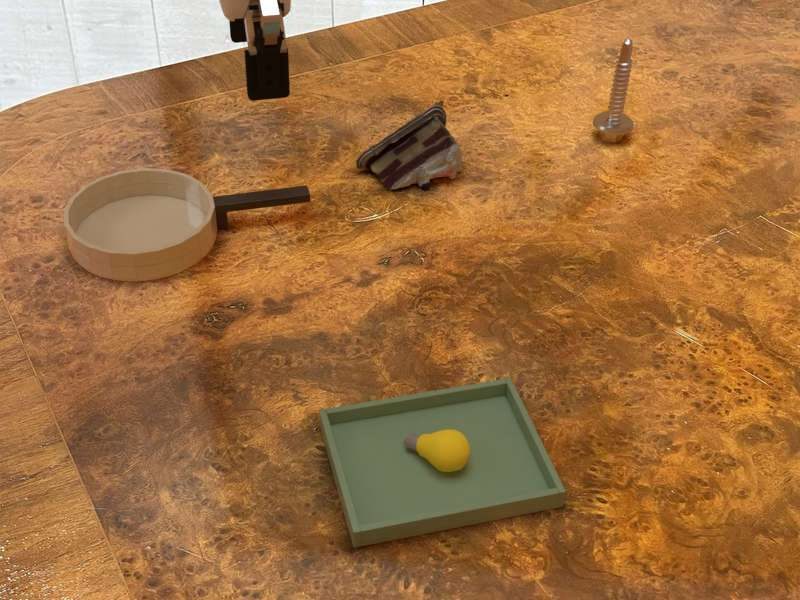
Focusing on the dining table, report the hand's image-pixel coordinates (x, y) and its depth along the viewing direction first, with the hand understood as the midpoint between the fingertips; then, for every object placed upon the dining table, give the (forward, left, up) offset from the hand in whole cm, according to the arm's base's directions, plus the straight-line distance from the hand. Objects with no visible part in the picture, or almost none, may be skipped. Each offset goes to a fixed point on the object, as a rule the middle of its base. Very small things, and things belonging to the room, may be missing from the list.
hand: (259, 67), depth 85 cm
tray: (+10, -22, -26) cm, 35 cm away
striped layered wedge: (+20, +21, -26) cm, 39 cm away
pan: (-11, +15, -26) cm, 32 cm away
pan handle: (+1, +15, -26) cm, 30 cm away
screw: (+45, +23, -26) cm, 57 cm away
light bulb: (+10, -21, -26) cm, 35 cm away
